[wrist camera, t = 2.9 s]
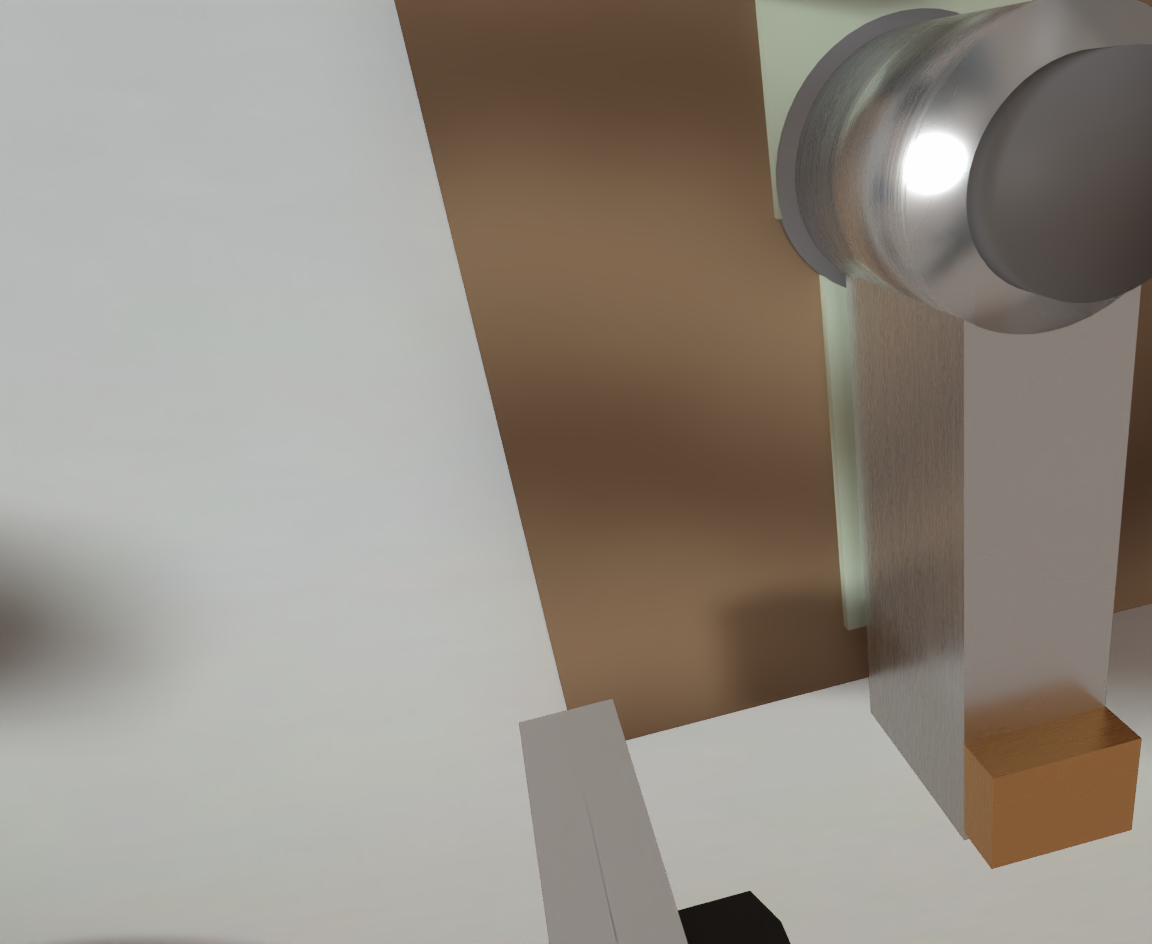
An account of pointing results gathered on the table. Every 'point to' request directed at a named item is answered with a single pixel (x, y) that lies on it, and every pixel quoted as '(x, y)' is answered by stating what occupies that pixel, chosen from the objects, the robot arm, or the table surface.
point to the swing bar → (978, 437)
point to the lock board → (726, 315)
